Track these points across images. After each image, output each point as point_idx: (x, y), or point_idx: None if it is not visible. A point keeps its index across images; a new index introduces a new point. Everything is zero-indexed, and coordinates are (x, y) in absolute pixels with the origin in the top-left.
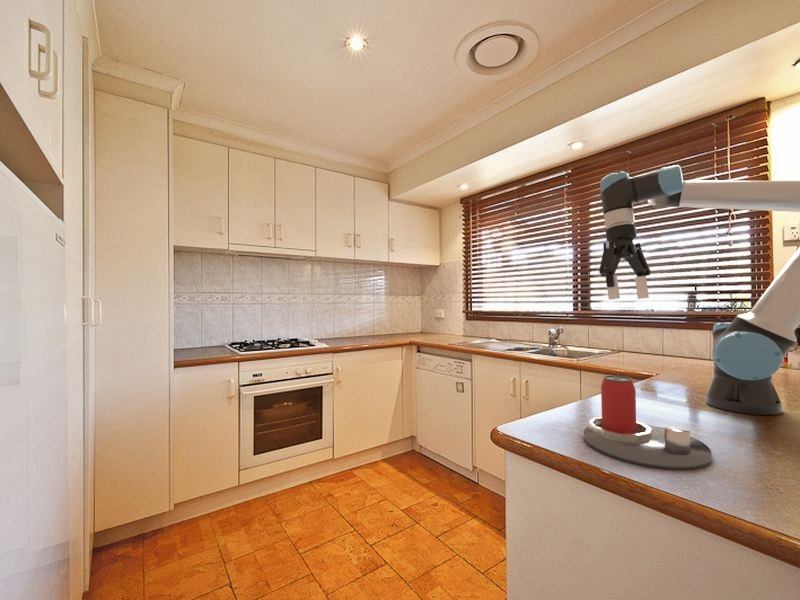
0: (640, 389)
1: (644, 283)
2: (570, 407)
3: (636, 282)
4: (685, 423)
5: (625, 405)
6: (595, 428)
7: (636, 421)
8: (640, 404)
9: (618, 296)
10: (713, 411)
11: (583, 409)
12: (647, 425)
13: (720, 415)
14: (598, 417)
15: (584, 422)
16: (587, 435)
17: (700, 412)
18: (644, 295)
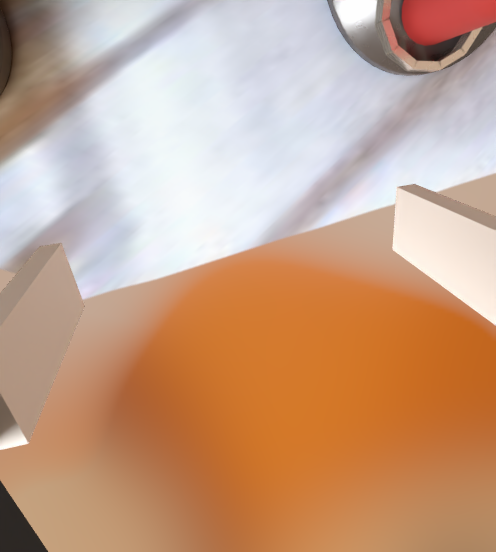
0: None
1: (22, 309)
2: (343, 211)
3: (46, 388)
4: (217, 10)
5: None
6: None
7: (384, 6)
8: (178, 168)
9: (414, 188)
10: (52, 44)
11: (331, 188)
12: (343, 12)
13: (69, 11)
14: (426, 67)
15: (401, 116)
16: (492, 24)
17: (96, 53)
18: (63, 267)
